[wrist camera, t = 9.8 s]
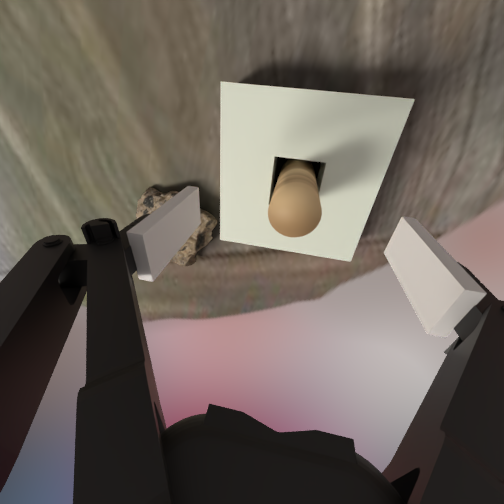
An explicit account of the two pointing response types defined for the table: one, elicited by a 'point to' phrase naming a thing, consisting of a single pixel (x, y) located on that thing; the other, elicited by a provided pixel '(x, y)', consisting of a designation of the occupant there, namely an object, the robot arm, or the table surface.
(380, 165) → the socket block
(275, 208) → the dowel
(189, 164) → the table surface
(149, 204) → the rock
